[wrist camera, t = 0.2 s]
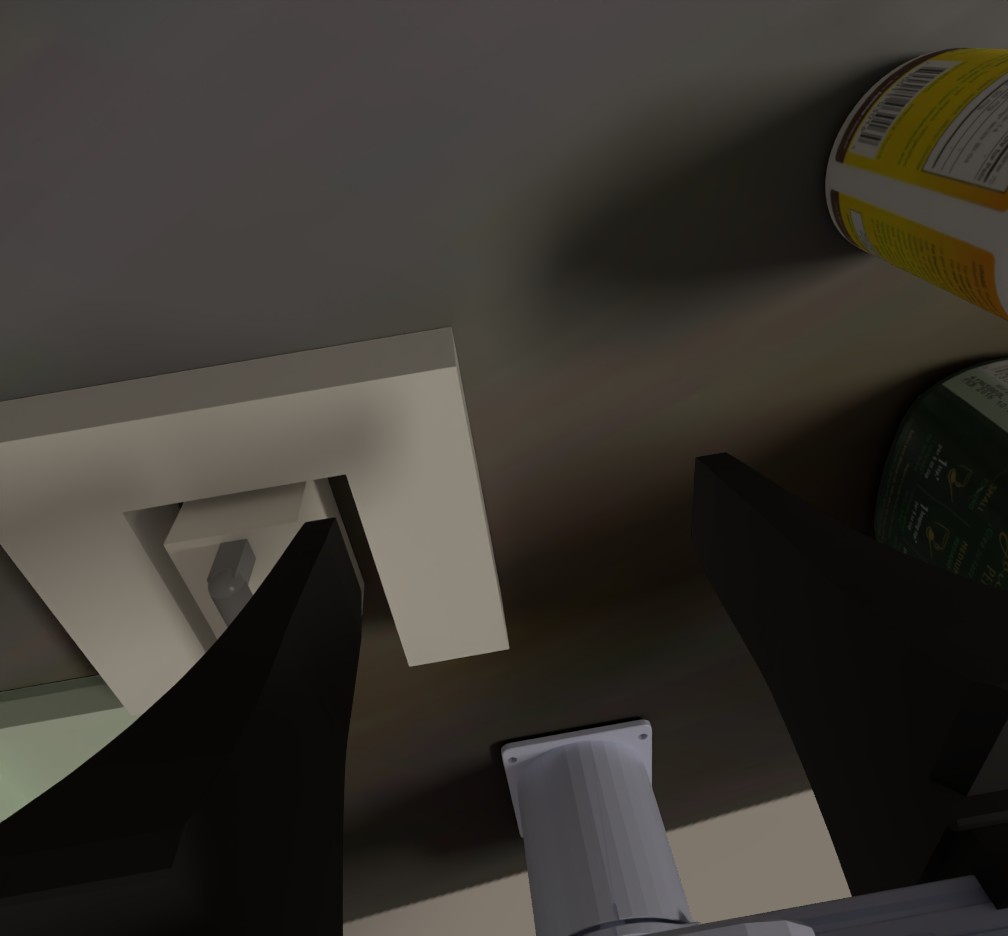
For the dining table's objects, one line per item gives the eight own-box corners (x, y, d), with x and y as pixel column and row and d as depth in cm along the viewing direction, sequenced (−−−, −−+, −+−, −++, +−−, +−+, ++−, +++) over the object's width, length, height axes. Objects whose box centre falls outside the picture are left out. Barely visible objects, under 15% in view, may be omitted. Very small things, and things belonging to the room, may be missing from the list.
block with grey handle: (364, 582, 27) (352, 718, 22) (269, 599, 27) (233, 740, 22) (315, 442, 23) (285, 567, 18) (203, 461, 23) (139, 592, 18)
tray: (287, 821, 36) (281, 859, 35) (90, 857, 36) (75, 896, 34) (185, 659, 28) (170, 699, 27) (-69, 704, 28) (-99, 746, 26)
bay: (501, 594, 28) (509, 648, 26) (156, 654, 28) (131, 715, 25) (451, 326, 21) (455, 366, 19) (-12, 403, 21) (-69, 454, 18)
